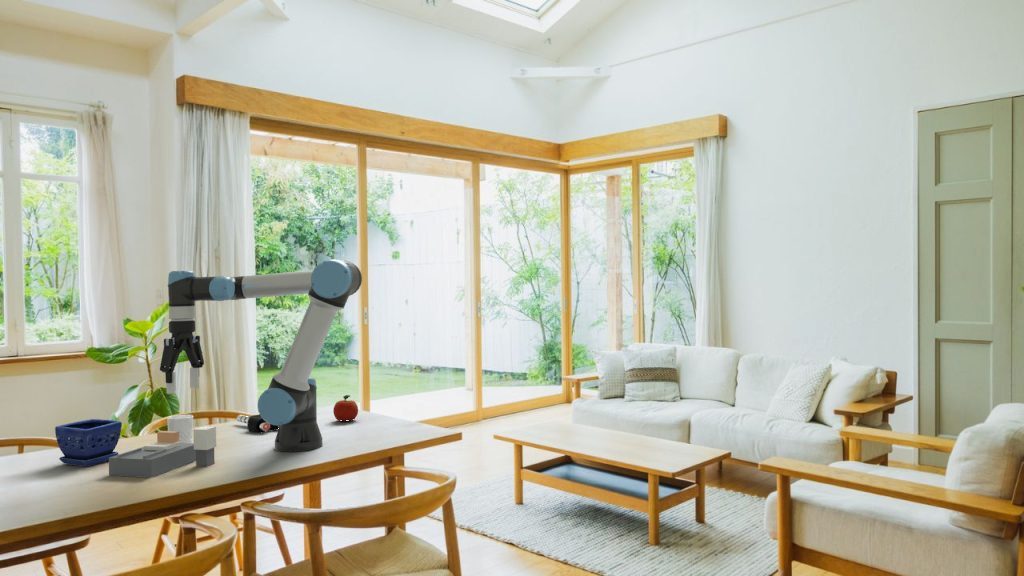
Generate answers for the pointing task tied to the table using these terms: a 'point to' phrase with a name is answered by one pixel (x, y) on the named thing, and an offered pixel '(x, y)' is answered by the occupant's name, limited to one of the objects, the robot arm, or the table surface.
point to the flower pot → (88, 441)
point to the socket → (151, 461)
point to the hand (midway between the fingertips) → (183, 390)
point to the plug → (204, 445)
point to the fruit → (345, 409)
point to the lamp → (256, 423)
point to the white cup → (181, 426)
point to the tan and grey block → (165, 441)
